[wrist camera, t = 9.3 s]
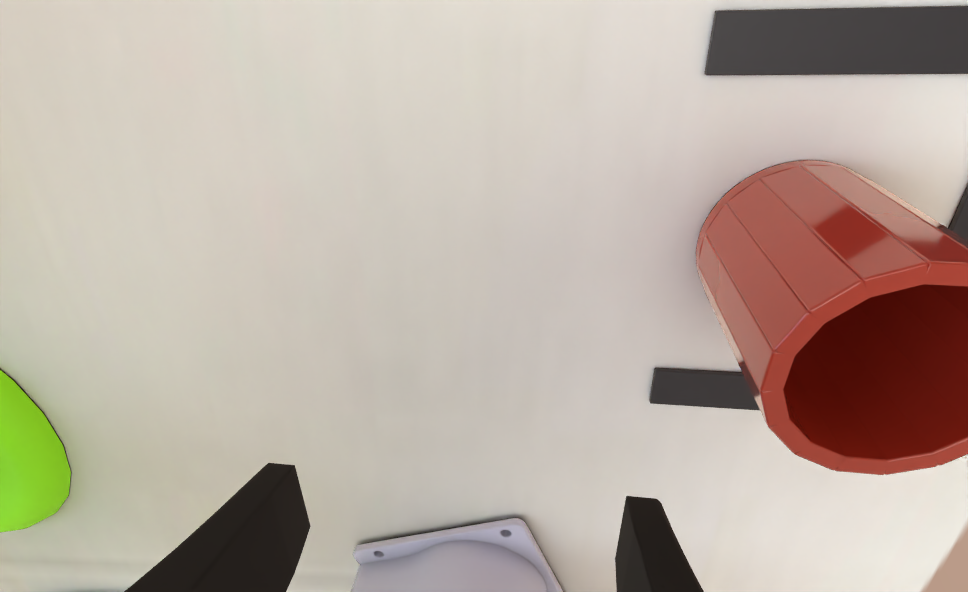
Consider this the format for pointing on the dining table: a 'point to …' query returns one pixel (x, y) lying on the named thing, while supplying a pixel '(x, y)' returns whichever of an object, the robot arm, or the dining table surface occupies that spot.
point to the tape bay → (814, 51)
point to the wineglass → (28, 461)
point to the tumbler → (843, 316)
